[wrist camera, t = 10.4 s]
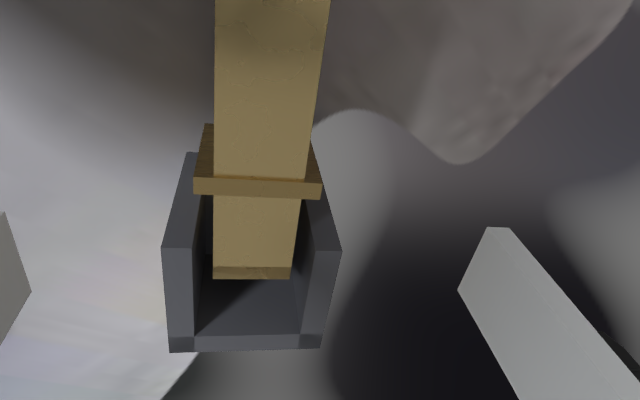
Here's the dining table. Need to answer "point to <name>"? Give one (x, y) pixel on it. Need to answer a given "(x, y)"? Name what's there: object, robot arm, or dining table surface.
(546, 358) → the robot arm
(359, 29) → the dining table surface
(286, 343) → the socket
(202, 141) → the bar
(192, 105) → the dining table surface
